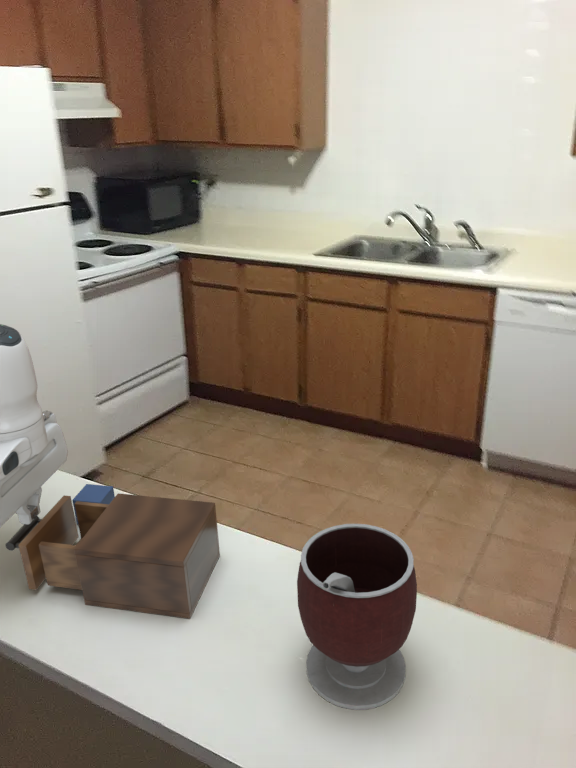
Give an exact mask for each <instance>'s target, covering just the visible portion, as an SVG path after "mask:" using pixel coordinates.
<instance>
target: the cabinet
mask: <svg viewBox="0 0 576 768" xmlns="http://www.w3.org/2000/svg"><path fill="white" fill-rule="evenodd" d="M217 519H218V518H217V509H216V502H210V501H201V500H191V499H181V498H169V497H161V496H149V495H140V494H139V495H138V494H128V493H116V495H115V498H114V499H113V500H112V501H111V503H110V504H109V505H108V506H107V508H106V509H105V510H104V512H103V513H102V514H101V515H100V517H99V518H98V519H97V520H96V522H95V523H94V524H93V525H92V527H91V528H90V529H89V531H88V532H87V533H86V534H85V536H84V537H83V538H82V539H81V538H80V539H81V541H80V542H79V541H78V542H79V543H78V542H77V543H78V544H77V543H76V544H77V546H76V547H75V548H74V552H75V557H76V562H77V567H78V572H79V577H80V581H81V586H82V590H81V591H82V596H83V599H84V600H83V601H84V605H86V606H93V607H100V608H108V609H115V610H122V611H130V612H136V613H137V612H138V613H145V614H152V615H159V616H166V617H175V618H182V619H189V620H190V619H191V618H192V616H193V613H194V611H195V609H196V607H197V605H198V603H199V600H200V599H201V596H202V595H203V592H204V591H205V588H206V586H207V584H208V581H210V577H211V576H212V574H213V571H214V569H215V567H216V564H217V563H218V560H219V558H220V557H221V552H220V550H221V549H220V540H219V530H218V520H217Z"/></svg>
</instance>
